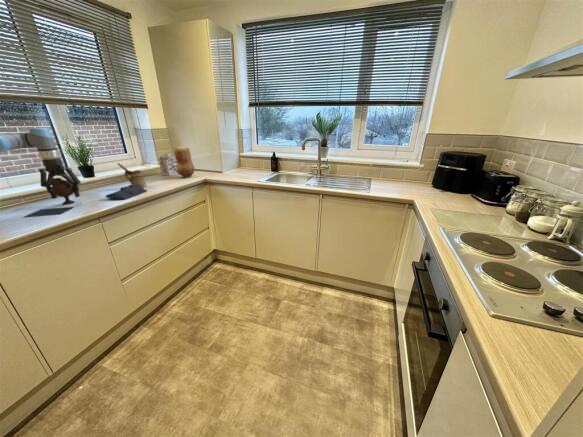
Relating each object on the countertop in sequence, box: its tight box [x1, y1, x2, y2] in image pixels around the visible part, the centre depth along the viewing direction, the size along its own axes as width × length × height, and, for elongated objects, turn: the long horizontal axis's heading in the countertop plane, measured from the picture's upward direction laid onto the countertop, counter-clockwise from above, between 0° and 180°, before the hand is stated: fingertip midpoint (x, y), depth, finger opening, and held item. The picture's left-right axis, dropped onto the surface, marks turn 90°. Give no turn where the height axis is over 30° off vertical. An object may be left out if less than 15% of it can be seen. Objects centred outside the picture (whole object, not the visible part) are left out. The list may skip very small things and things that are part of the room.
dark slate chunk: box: [105, 183, 148, 200], centre depth 152 cm, size 15×22×5 cm
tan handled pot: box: [116, 162, 147, 189], centre depth 167 cm, size 9×14×18 cm, turn 119°
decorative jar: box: [158, 152, 179, 177], centre depth 208 cm, size 12×12×18 cm
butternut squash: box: [173, 145, 195, 178], centre depth 195 cm, size 14×13×25 cm
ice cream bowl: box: [50, 177, 76, 206], centre depth 136 cm, size 11×11×15 cm
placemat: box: [22, 206, 75, 219], centre depth 124 cm, size 16×14×1 cm
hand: (66, 197), depth 137 cm, fingers closed on ice cream bowl, 11 cm apart
